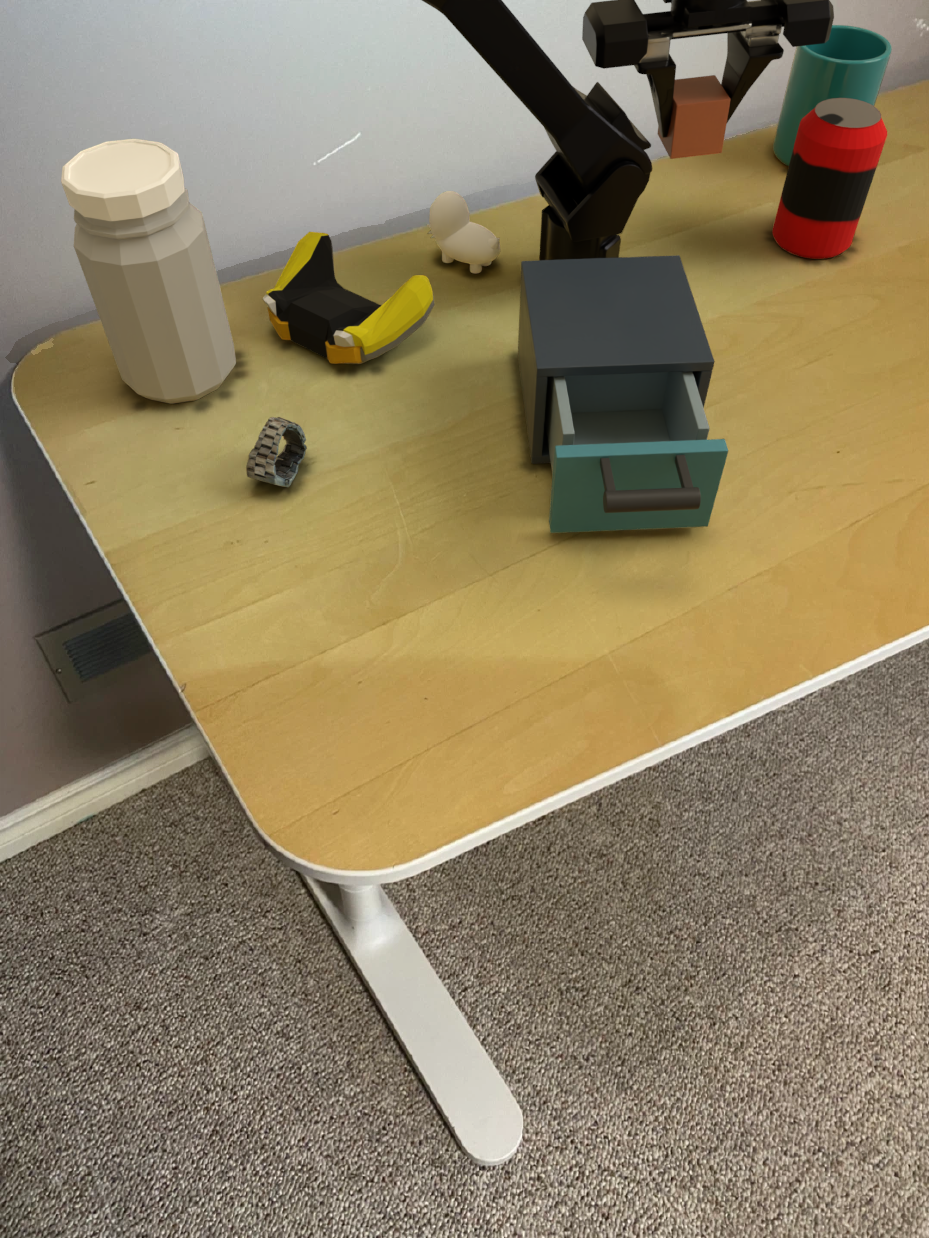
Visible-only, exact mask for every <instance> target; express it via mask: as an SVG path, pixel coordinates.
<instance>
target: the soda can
mask: <svg viewBox="0 0 929 1238" xmlns="http://www.w3.org/2000/svg"><path fill="white" fill-rule="evenodd" d="M887 138H888V130H887V127H886V124H885V123H884V120H883V118H882V112H881V111H880V110H879V109H878V108H877V107H876V106H873V105H871V104H869V103H866V102H864V101H860V100H856V99H850V98H833V99H827V100H824V101H822V102H820V103H819V104H817V105H816V107H815V108H814V109H813V110H812V111H810V112H809V113H808V114H807V115H806V116H805V117H803V118H802V120H801V122H800V124H799V128H798V132H797V136H796V140H795V144H794V148H793V152H792V155H791V159H790V163H789V166H787V168H788V169H787V171H786V175H785V179H784V182H783V187H782V191H781V194H780V199H779V201H778V206H777V210H776V214H775V217H774V222H773V225H772V231H771V232H772V236H773V239H774V241H775V242H776V244H777V245H778V246H779V247H780V248H781V249H783V250H784V251H786V252H788V253H789V254H791V255H794V256H797V257H801V258H805V259H810V260H823V259H830V258H834V257H837V256H840V255H841V254H842V253H844V252H845V251H847V250H848V249H849V248H850V247H851V245H852V242H853V240H854V237H855V234H856V232H857V228H858V225H859V222H860V219H861V216H862V213H863V210H864V207H865V203H866V201H867V198H868V195H869V193H870V192H869V191H870V189H871V186H872V182H873V180H874V177H875V174H876V171H877V169H878V168H877V167H878V165H879V162H880V158H881V156H882V154H883V153H882V152H883V149H884V146H885V145H886V141H887Z"/></svg>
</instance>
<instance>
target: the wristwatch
mask: <svg viewBox="0 0 929 1238" xmlns="http://www.w3.org/2000/svg"><path fill="white" fill-rule="evenodd" d="M282 437H283V441H284V440H285V445H284V447H283V450H282V451H281V452H280V453H279V448H280V447H279V446H280V443H281V440H282ZM306 441H307V438H306V434H305V431H304V429H303V428H302V426H301V425H300V424H299V423H296V422H294V421H291V420H289V419H286V418H284V417H281V416H276V417H275V416H270V417H269V418H268V419H267V421H266V422H265V423H264V425H263V427H262V429H261V431H259V434H258V437H257V440H256V442H255V444H254V447H253V448H251V450H250V452H249V453H248V459H247V462H246V465H245V466H246V467H245V471H246V477H247V478H249V479H252V480H257V481H260V482H263V483H267V484H271V485H275V486H277V487H283V488H289V487H291V485H292V483H293V481H294V480H295V477H296V475H297V474H298V472H299V465H300V464H301V462H303V460H304V459H305V456H306V453H307V452H306V451H307V449H308V446H307V445H306V444H305V443H306Z"/></svg>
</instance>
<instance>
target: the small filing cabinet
mask: <svg viewBox="0 0 929 1238" xmlns="http://www.w3.org/2000/svg"><path fill="white" fill-rule="evenodd" d="M519 286H520V287H519V310H518V335H517V337H518V338H517V339H518V340H517V361H518V369H519V377H520V382H521V383H520V385H521V392H522V400H523V409H524V416H525V424H526V432H527V440H528V448H529V456H530V463H531V464H532V465H540V464H542V465H543V464H551V462H550V455H549V448H548V441H547V434H546V428H545V421H544V420H545V406H546V391H547V377H552V376H578V375H604V374H630V373H656V372H682V371H692V372H693V375H694V378H695V382H696V385H697V388H698V392H699V395H700V398H701V401H702V405H703V408H704V409H705V405H706V400H707V395H708V392H709V387H710V383H711V378H712V374H713V370H714V366H715V362H716V361H715V358H714V355H713V352H712V349H711V347H710V344H709V340H708V337H707V335H706V331H705V328H704V325H703V323H702V319H701V315H700V312H699V311H698V308H697V304H696V301H695V298H694V295H693V292H692V289H691V285H690V282H689V279H688V277H687V274H686V270H685V267H684V265H683V262H682V258H681V256H680V255H679V254H677V255H650V256H649V255H648V256H623V257H620V256H619V258H591V259H564V260H539V259H538V260H537V259H536V260H521V262H520V285H519Z"/></svg>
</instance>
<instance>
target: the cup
mask: <svg viewBox="0 0 929 1238" xmlns="http://www.w3.org/2000/svg"><path fill="white" fill-rule="evenodd" d="M794 50H795V51H794V53H793V59H792V63H791V66H790V72H789V75H788V79H787V84H786V87H785V88H786V89H785V93H784V97H783V101H782V104H781V108H780V113H779V117H778V121H777V126H776V128H775V129H776V130H775V133H774V137H773V143H772V150H773V154H774V155H775V157H776V159H778V161H780V162H781V163H782V164H784V165H785V166H787V167H789V163H790V159H791V155H792V152H793V148H794V144H795V140H796V136H797V132H798V128H799V124H800V122H801V120H802V118H803V117H805V116H806V115H807V114H808V113H809V112H810V111H812V110H813V109H814V108H815V107H816V105H817V104H819V103H820V102H822V101H824V100H827V99H833V98H850V99H856V100H860V101H864V102H866V103H869V104H871V105H873V106H874V107H876V103H877V99H878V97H879V93H880V90H881V86H882V84H883V80H884V77H885V74H886V71H887V67H888V64H889V61H890V57H891V54H892V52H893V51H892V50H893V47H892V44H891V42H890V40H888V39H887V38H886V37H885V36H883V35H881V34H880V33H878V32H875V31H873V30H870V29H867V28H863V27H859V26H854V25H846V24H845V25H844V24H832V28H831V33H830V37H829V40H828V41H827V42H826V43H823V44H814V45H806V46H797V47H795V49H794Z"/></svg>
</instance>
